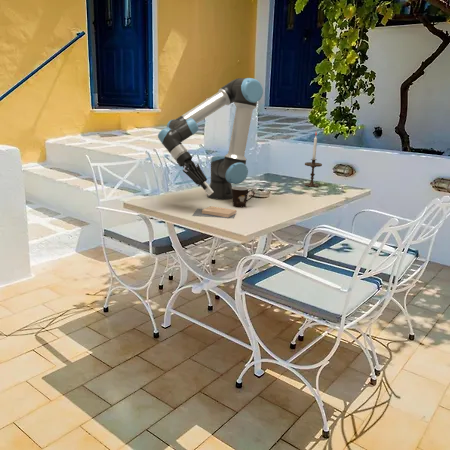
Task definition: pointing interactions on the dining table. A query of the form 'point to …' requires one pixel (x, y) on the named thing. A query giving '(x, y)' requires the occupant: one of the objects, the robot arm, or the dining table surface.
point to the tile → (219, 212)
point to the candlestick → (313, 165)
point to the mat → (199, 213)
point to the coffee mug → (240, 196)
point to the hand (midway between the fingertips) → (211, 193)
